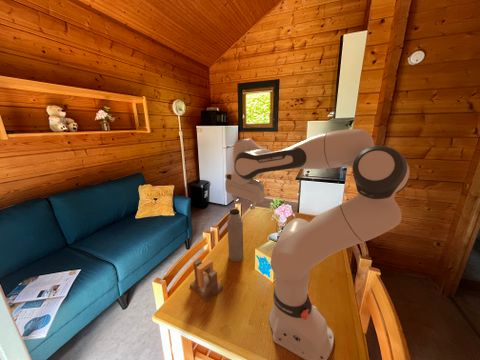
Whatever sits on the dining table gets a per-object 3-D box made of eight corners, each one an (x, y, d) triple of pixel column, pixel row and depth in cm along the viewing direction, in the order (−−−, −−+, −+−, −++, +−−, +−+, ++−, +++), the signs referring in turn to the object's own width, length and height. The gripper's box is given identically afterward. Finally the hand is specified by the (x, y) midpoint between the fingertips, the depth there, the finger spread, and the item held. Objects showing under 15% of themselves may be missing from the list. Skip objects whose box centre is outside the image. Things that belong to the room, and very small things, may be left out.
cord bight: (213, 279, 92) (212, 261, 89) (201, 288, 87) (199, 269, 84) (210, 276, 93) (209, 258, 90) (198, 285, 88) (196, 267, 85)
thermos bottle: (244, 252, 113) (243, 207, 105) (241, 262, 106) (240, 215, 98) (230, 251, 115) (229, 206, 106) (227, 260, 108) (225, 213, 99)
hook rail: (223, 288, 90) (222, 268, 87) (207, 301, 84) (205, 280, 80) (205, 274, 98) (204, 255, 95) (190, 286, 92) (187, 266, 88)
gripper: (268, 179, 82) (267, 210, 86) (232, 171, 95) (233, 198, 99) (258, 183, 78) (258, 215, 82) (222, 174, 91) (223, 202, 95)
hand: (244, 206), depth 91 cm, fingers open, 8 cm apart
